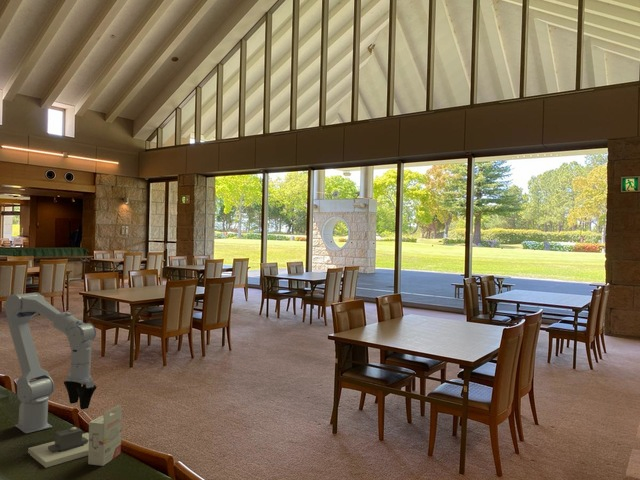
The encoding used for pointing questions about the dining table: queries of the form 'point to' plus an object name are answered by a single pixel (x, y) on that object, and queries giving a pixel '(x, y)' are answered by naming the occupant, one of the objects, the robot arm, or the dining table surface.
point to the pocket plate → (58, 453)
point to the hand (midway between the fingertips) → (79, 405)
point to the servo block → (68, 440)
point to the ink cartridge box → (105, 437)
